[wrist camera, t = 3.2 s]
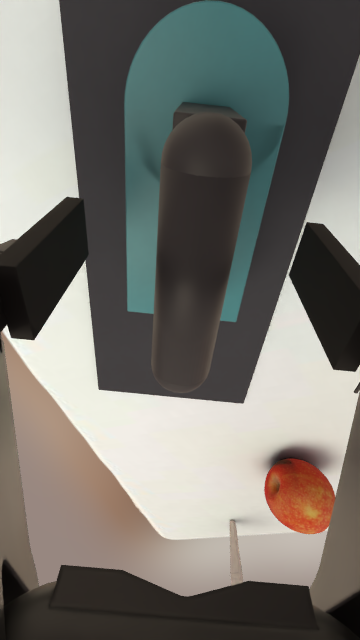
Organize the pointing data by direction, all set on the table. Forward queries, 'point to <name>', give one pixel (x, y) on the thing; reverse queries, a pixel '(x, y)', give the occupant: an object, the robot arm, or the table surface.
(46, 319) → the robot arm
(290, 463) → the apple
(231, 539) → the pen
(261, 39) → the iron
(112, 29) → the ironing mat
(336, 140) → the table surface
